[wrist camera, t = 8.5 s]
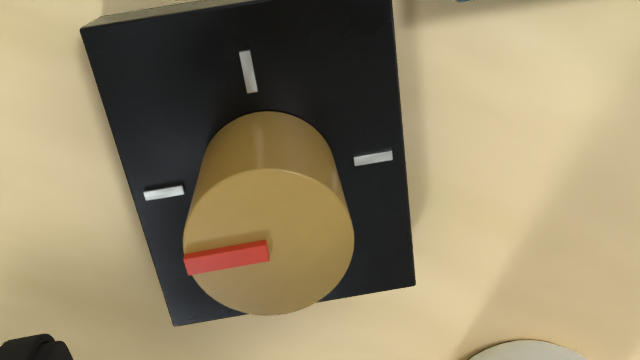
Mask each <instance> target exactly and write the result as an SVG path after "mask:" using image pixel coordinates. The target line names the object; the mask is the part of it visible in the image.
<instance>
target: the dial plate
mask: <svg viewBox="0 0 640 360" xmlns="http://www.w3.org/2000/svg"><path fill="white" fill-rule="evenodd" d="M80 33H81V37H82V40H83V43H84V46H85V49H86V52H87V55H88V59H89V62H90V65H91V68H92V71H93V74H94V77H95V81H96V84H97V87H98V90H99V93H100V96H101V99H102V103H103V106H104V109H105V112H106V115H107V118H108V121H109V125H110V128H111V131H112V134H113V137H114V140H115V144H116V147H117V150H118V153H119V156H120V159H121V162H122V166H123V169H124V172H125V175H126V178H127V181H128V184H129V188H130V191H131V194H132V197H133V200H134V203H135V206H136V210H137V213H138V216H139V219H140V222H141V225H142V228H143V232H144V235H145V238H146V241H147V244H148V247H149V250H150V254H151V257H152V260H153V263H154V266H155V269H156V273H157V276H158V279H159V282H160V285H161V288H162V291H163V295H164V298H165V301H166V304H167V307H168V310H169V313H170V317H171V320H172V323H173V326H181V325H187V324H193V323H199V322H205V321H211V320H217V319H222V318H228V317H234V316H240V315H246V314H248V313H243V312H240V311H237V310H234V309H231V308H229V307H227V306H225V305H223V304H221V303H219V302H218V301H216V300H215V299H213V298H212V297H211V296H209V295H208V294H207V293H206V292H205V291H204V290H203V289H202V288H201V287H200V286H199V285H198V283H197V282H196V281H195V279H194V278H193V276H192V275H188V273H187V270H186V267H185V263H184V260H183V259H184V252H183V233H184V228H185V224H186V220H187V216H188V213H189V209H190V205H191V201H192V198H193V194H194V190H195V186H196V183H197V179H198V175H199V171H200V168H201V164H202V160H203V156H204V154H205V151H206V149H207V147H208V145H209V143H210V141H211V140H212V139H213V137H214V136H215V135H216V134H217V133H218V132H219V131H220V130H221V129H222V128H223V127H224V126H226V125H227V124H228V123H230V122H231V121H233V120H235V119H237V118H239V117H242V116H244V115H247V114H251V113H255V112H264V111H270V112H281V113H285V114H289V115H293V116H295V117H297V118H300V119H302V120H303V121H305V122H307V123H308V124H310V125H311V126H312V127H314V128H315V129H316V130H317V131H318V132H319V133H320V134H321V135H322V137H323V138H324V139H325V141H326V142H327V144H328V146H329V147H330V150H331V152H332V155H333V158H334V161H335V165H336V168H337V172H338V176H339V179H340V183H341V186H342V190H343V193H344V197H345V200H346V204H347V207H348V211H349V214H350V218H351V221H352V226H353V230H354V250H353V254H352V259H351V262H350V264H349V267H348V269H347V271H346V272H345V274H344V276H343V278H342V279H341V280H340V282H339V283H338V284H337V286H336V287H335V288H334V289H333V290H332V291H331V292H330V293H328V294H327V295H326V296H325V297H323V298H322V299H321V300H319V301H317V302H323V301H328V300H334V299H340V298H346V297H352V296H358V295H364V294H370V293H376V292H381V291H387V290H393V289H399V288H405V287H411V286H415V284H416V280H415V268H414V256H413V244H412V232H411V220H410V209H409V197H408V185H407V173H406V161H405V149H404V137H403V125H402V114H401V102H400V90H399V78H398V66H397V54H396V42H395V30H394V19H393V7H392V0H201V1H194V2H188V3H182V4H175V5H169V6H163V7H157V8H150V9H144V10H138V11H131V12H125V13H119V14H113V15H106V16H101V17H99V18H97V19H96V20H94V21H92V22H90V23H89V24H87V25H85V26H83V27H82V28H80ZM317 302H316V303H317Z"/></svg>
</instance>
